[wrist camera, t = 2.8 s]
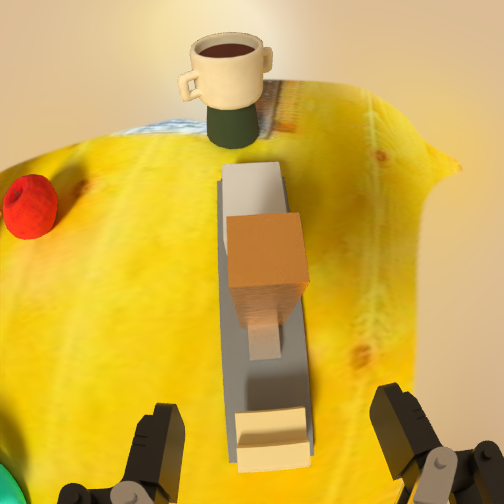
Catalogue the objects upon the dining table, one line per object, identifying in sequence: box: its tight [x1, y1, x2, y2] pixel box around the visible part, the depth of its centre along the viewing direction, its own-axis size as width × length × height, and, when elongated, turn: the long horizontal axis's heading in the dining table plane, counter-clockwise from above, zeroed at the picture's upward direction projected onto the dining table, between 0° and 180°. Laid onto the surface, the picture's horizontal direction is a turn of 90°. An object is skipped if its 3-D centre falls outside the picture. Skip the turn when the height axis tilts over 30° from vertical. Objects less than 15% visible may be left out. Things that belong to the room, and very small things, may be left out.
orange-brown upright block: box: [226, 212, 310, 361], centre depth 20 cm, size 17×4×12 cm, turn 4°
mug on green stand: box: [178, 32, 273, 149], centre depth 28 cm, size 11×7×13 cm, turn 124°
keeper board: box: [217, 162, 314, 473], centre depth 23 cm, size 27×7×5 cm, turn 4°
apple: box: [3, 174, 58, 240], centre depth 26 cm, size 8×8×7 cm
